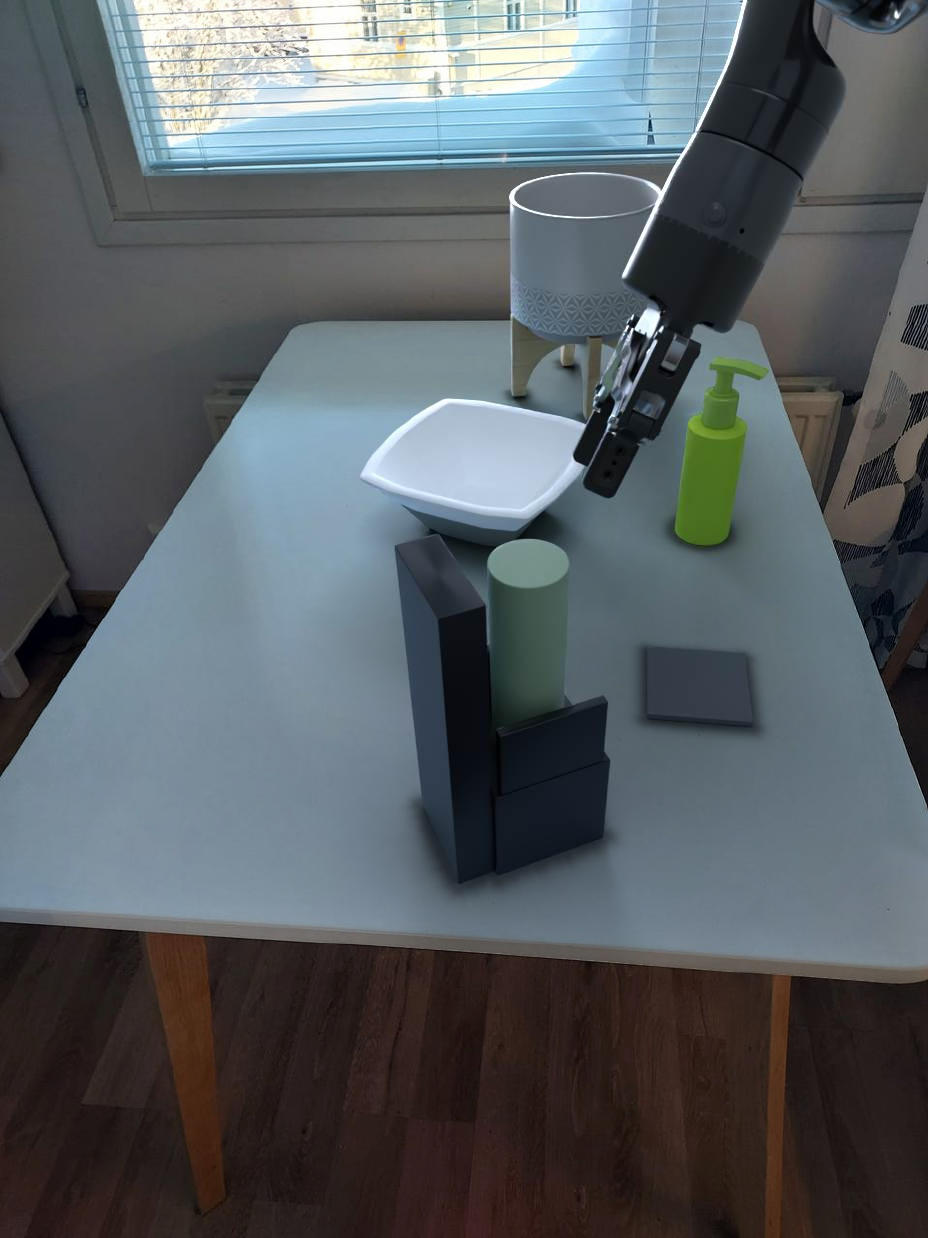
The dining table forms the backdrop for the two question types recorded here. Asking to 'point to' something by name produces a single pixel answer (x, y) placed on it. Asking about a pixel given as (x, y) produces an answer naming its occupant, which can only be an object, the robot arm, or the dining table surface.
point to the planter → (573, 269)
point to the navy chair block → (490, 734)
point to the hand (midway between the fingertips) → (589, 477)
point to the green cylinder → (527, 629)
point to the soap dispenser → (713, 457)
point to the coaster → (698, 686)
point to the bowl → (477, 467)
